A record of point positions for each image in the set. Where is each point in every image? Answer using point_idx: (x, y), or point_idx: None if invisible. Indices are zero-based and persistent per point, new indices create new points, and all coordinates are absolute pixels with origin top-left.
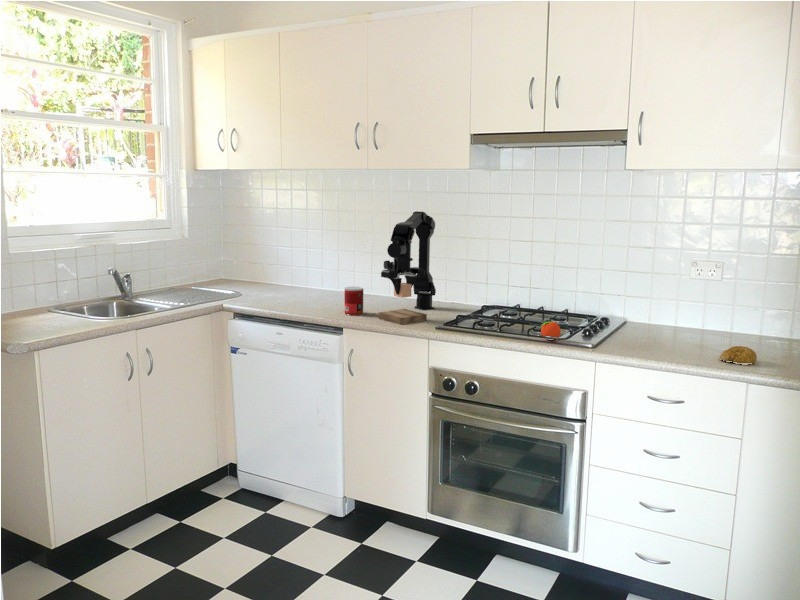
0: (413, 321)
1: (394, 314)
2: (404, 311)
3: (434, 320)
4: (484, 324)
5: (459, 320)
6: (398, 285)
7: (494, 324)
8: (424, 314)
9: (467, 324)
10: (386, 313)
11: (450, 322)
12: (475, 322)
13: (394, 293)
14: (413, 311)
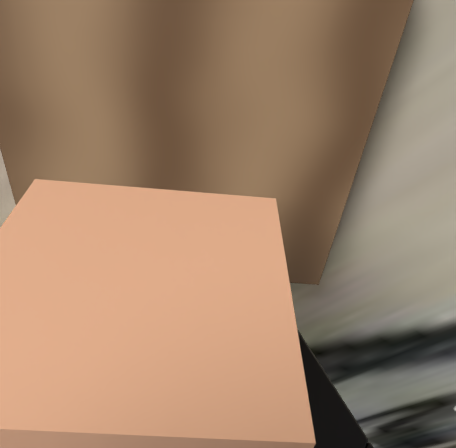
0: None
1: (72, 135)
2: (277, 89)
3: (343, 280)
4: (414, 429)
5: (439, 349)
6: None
7: (439, 443)
8: (295, 282)
9: (365, 402)
10: (16, 32)
11: (354, 350)
12: (435, 400)
13: (16, 225)
14: (347, 150)
